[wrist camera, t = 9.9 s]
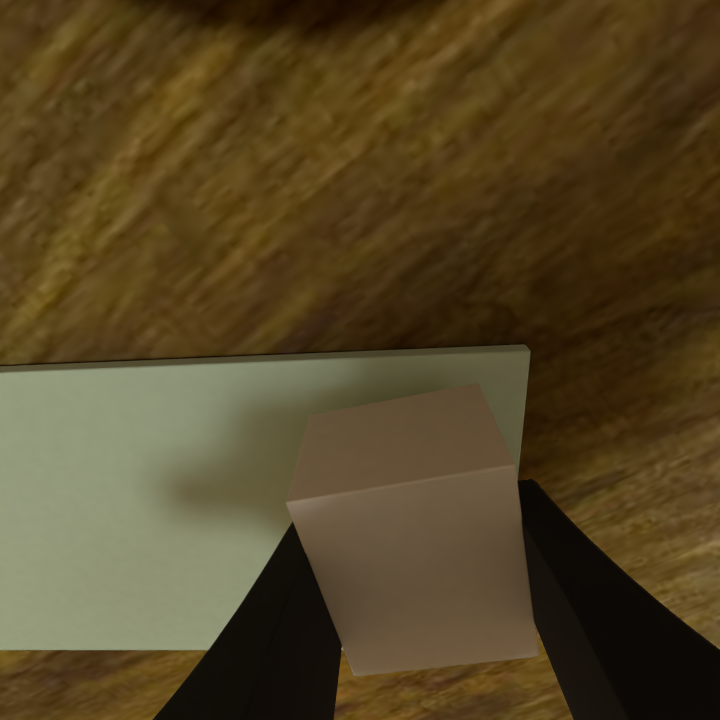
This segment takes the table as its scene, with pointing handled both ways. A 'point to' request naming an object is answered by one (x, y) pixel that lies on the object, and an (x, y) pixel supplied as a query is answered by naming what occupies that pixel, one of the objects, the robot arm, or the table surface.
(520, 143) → the table surface
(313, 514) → the block
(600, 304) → the table surface
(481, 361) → the runner
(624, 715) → the robot arm
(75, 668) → the table surface
